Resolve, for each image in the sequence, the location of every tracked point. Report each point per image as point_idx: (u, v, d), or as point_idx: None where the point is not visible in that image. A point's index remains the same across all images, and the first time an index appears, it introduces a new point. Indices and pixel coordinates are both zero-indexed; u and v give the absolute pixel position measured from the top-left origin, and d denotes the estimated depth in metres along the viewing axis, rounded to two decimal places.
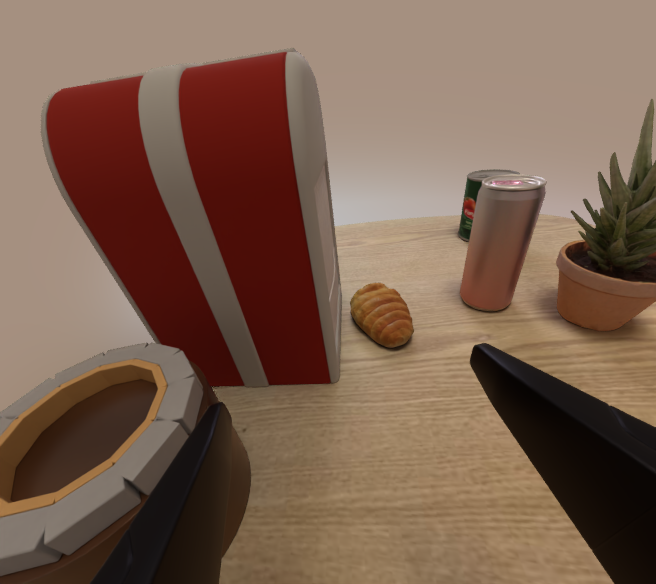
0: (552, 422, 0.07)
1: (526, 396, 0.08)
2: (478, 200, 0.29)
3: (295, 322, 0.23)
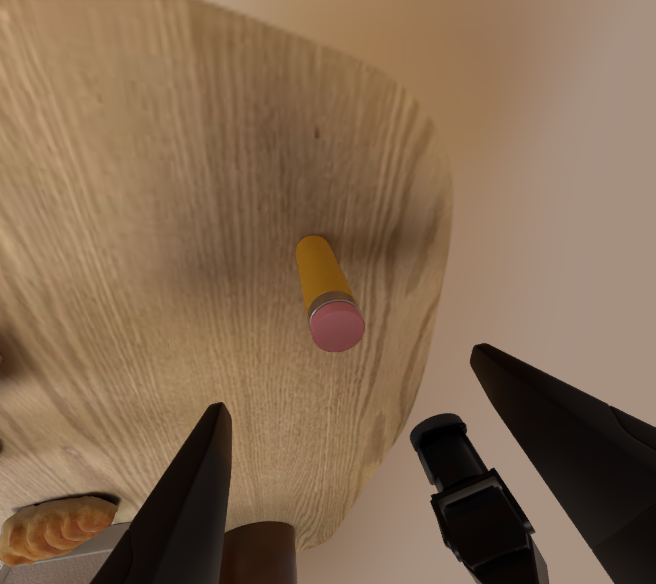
0: (552, 422, 0.07)
1: (526, 396, 0.08)
2: None
3: None
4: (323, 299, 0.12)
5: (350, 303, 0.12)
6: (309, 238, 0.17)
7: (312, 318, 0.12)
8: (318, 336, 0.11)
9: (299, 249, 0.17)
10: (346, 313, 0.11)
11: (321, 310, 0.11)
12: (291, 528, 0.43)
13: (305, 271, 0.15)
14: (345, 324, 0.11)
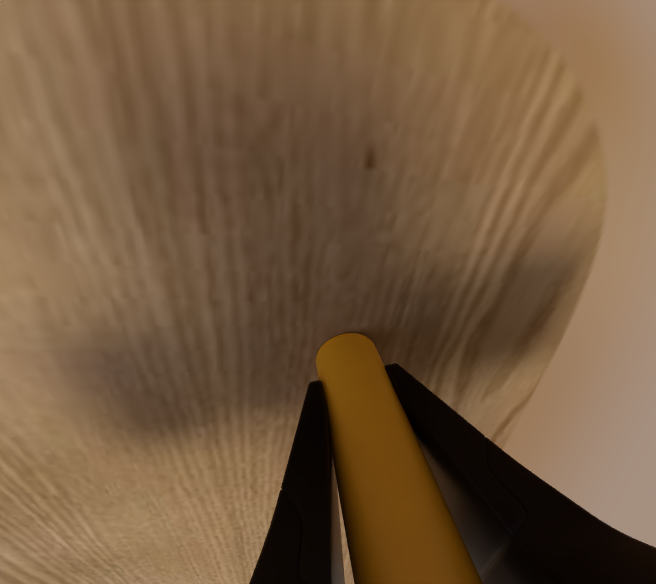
0: (434, 452, 0.07)
1: (416, 423, 0.07)
2: None
3: None
4: None
5: None
6: (343, 343, 0.10)
7: None
8: None
9: (325, 366, 0.09)
10: None
11: None
12: None
13: (348, 459, 0.07)
14: None
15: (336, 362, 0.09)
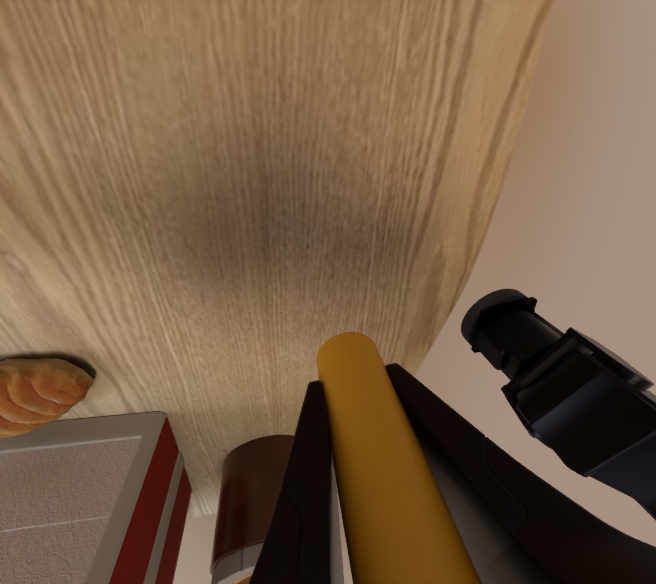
0: (434, 452, 0.07)
1: (417, 423, 0.07)
2: None
3: (140, 527, 0.22)
4: None
5: None
6: (343, 343, 0.10)
7: None
8: None
9: (325, 366, 0.09)
10: None
11: None
12: None
13: (347, 459, 0.07)
14: None
15: (336, 362, 0.09)
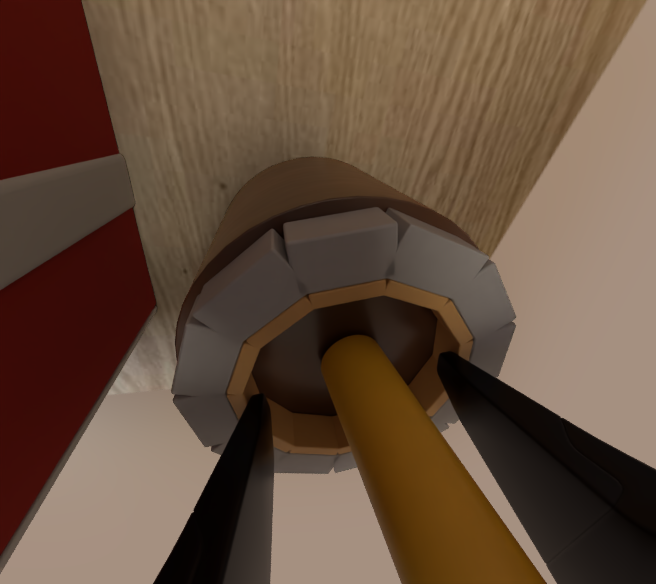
0: (506, 434, 0.07)
1: (483, 406, 0.08)
2: None
3: None
4: None
5: None
6: (349, 346, 0.09)
7: None
8: None
9: (334, 371, 0.09)
10: None
11: None
12: None
13: (379, 463, 0.06)
14: None
15: (346, 365, 0.09)
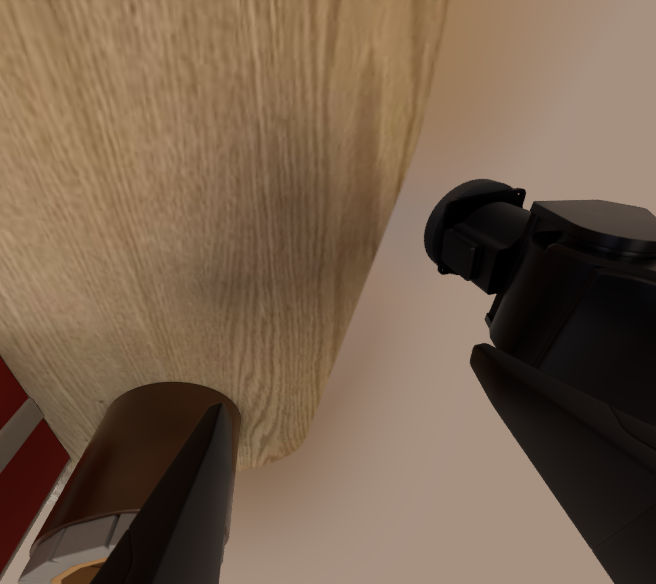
0: (552, 422, 0.07)
1: (526, 396, 0.08)
2: None
3: None
4: None
5: None
6: None
7: None
8: None
9: None
10: None
11: None
12: (232, 405, 0.27)
13: None
14: None
15: None
